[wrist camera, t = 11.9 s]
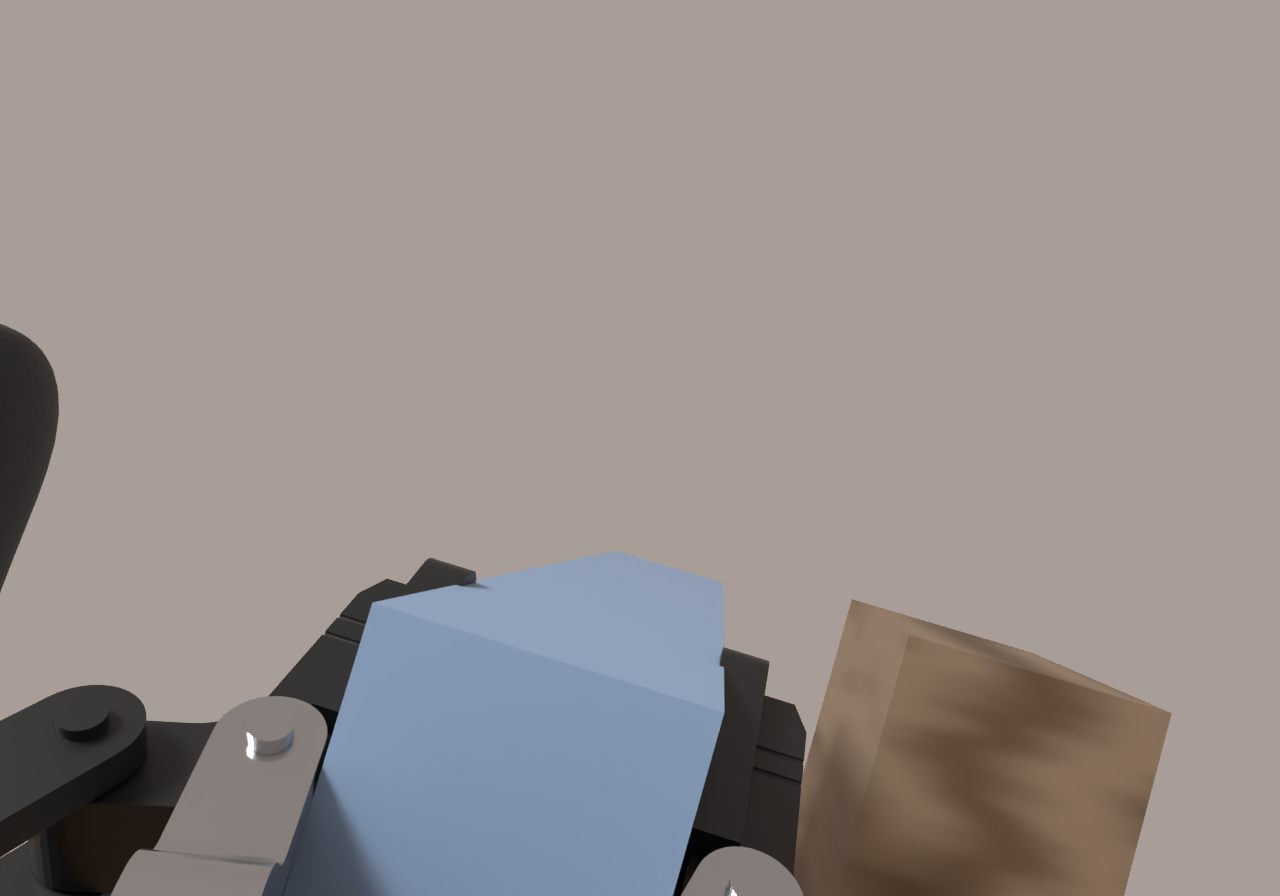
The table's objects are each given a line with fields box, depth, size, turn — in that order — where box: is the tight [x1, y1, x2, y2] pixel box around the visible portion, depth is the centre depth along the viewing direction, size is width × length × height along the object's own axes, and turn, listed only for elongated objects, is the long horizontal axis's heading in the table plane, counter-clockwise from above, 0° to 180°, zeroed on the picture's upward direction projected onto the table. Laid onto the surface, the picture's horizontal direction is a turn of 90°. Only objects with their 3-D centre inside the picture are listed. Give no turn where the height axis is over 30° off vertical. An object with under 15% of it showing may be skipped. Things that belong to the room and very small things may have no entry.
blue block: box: [283, 551, 724, 896], centre depth 22 cm, size 4×24×4 cm, turn 174°
